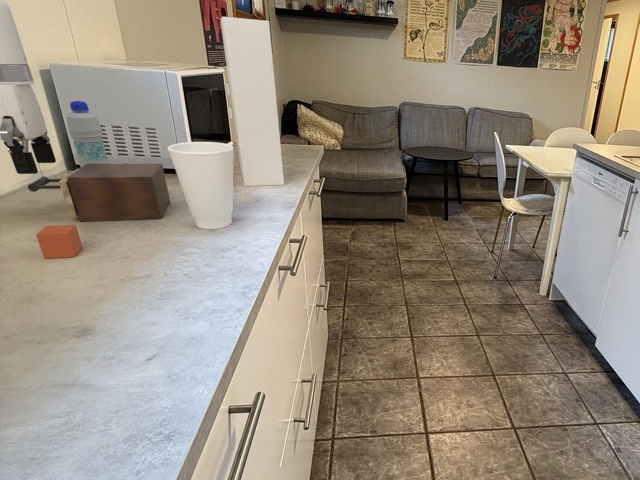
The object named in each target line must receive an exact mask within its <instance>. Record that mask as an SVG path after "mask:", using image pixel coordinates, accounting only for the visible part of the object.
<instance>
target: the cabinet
mask: <svg viewBox="0 0 640 480" xmlns="http://www.w3.org/2000/svg"><path fill="white" fill-rule="evenodd" d="M77 169H78V170H77V171H76V172H74V173H73V174H71V173H70V174H71V175H70V176H68V175H67V176H68V177H67V179H68V182H69V186H70V189H71V192H72V195H73V199H74V202H75V205H76V209H77V212H78V217H79V221H80V222H81V223H83V222H84V223H86V222H89V223H90V222H116V221H143V220H144V221H145V220H146V221H147V220H162V218H163V216H164V215H165V214H166V211H167V210H168V209H169V208H168V207H169V206H170V204H171V197H170V194H169V190H168V184H167V180H166V174H165V170H164V164H163V163H109V164H86V165H84V166H83V167H80V168H77Z"/></svg>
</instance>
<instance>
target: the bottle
mask: <svg viewBox="0 0 640 480" xmlns="http://www.w3.org/2000/svg"><path fill="white" fill-rule="evenodd" d="M69 106H70V109H71V112H70V113H68V114H67V115H66V116H65V118H66V124H67V131H68V133H69V136H70V137H71V139H72V141H73V145H74V149H75V152H76V155H77V158H78V163H79V167H80V168H81V167H83V166H84V165H86V164H110V161H109V160H108V155H107V151H106V148H105V143H104V140H103V137H104V134H103V128H102V126H101V124H100V122H99V119H98V116H97V115H95V114H93V113H92V112H90V109H89V106H88V104H87V102H85V101H82V100H74V101H71V102H70V103H69Z"/></svg>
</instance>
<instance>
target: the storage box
mask: <svg viewBox="0 0 640 480" xmlns="http://www.w3.org/2000/svg"><path fill="white" fill-rule="evenodd" d="M219 22H220V27H221V35H222V40H223V42H222V43H223V50H224V56H225V57H224V58H225V65H226V72H227V80H228V86H229V94H230V101H231V109H232V110H231V111H232V117H233V123H234V131H235V139H236V147H237V154H238V161H239V168H240V173H241V177H242V181H243V185H244V187H261V186H284V185H285V177H284V169H283V167H284V166H283V157H282V146H281V144H282V143H281V135H280V125H279V115H278V114H279V113H278V102H277V92H276V91H277V90H276V81H275V72H274V71H275V70H274V62H273V61H274V59H273V50H272V49H273V48H272V39H271V29H270V28H271V27H270V21H269V20H262V19H254V18H253V19H251V18H241V17H232V16H231V17H230V16H221V18H220V21H219Z"/></svg>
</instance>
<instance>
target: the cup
mask: <svg viewBox="0 0 640 480" xmlns="http://www.w3.org/2000/svg"><path fill="white" fill-rule="evenodd" d="M234 150H235V148H234V146H233V145H231V144H228V143H224V142H216V141H188V142H179V143H174V144H171V145H169V146H167V151H168V153H169V155H170V158H171V162H172V164H173V167H174V169H175V172H176V175H177V178H178V182H179V184H180V187H181V189H182V192H183V195H184V198H185V201H186V203H187V206H188V209H189V212H190V215H192V216H193V219H194V222H195V225H196V227H197V228H199V229H204V230H217V229H224V228H227V227H229V226H231V225H232V224H233V222H232V221H233V219H232V213H233V212H234Z"/></svg>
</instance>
